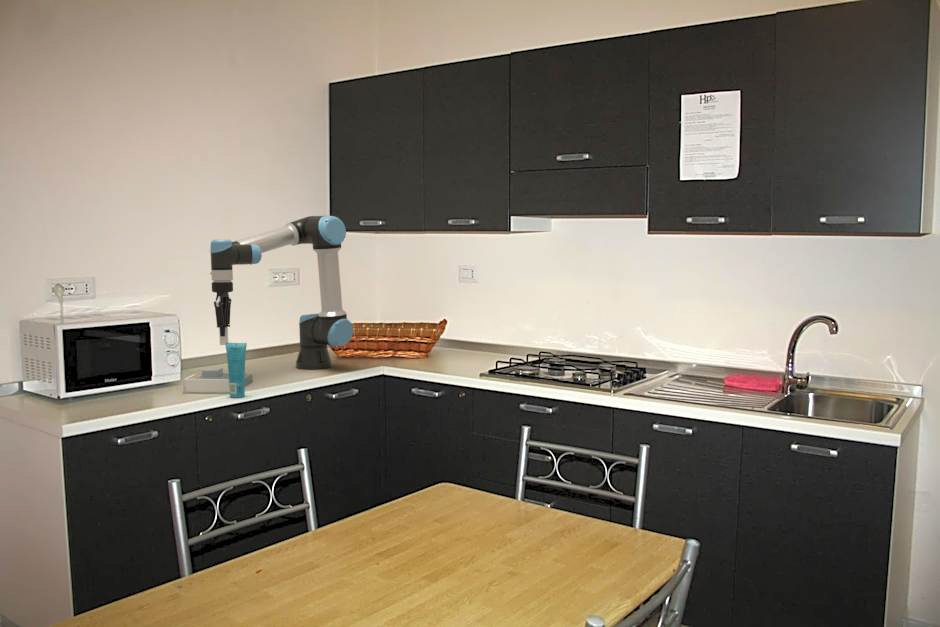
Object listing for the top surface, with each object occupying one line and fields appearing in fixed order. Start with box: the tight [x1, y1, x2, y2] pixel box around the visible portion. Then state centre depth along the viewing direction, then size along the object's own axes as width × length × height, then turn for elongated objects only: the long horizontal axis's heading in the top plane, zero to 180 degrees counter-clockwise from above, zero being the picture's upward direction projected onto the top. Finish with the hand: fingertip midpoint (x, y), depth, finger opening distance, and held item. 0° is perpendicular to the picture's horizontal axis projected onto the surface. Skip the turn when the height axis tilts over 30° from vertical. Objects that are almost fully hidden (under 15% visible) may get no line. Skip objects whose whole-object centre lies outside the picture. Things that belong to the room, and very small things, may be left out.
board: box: [196, 373, 253, 387], centre depth 308 cm, size 18×13×3 cm
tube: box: [224, 342, 248, 398], centre depth 285 cm, size 7×5×19 cm, turn 96°
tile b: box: [201, 367, 224, 377], centre depth 310 cm, size 6×6×2 cm
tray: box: [182, 373, 230, 395], centre depth 297 cm, size 18×11×5 cm, turn 89°
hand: (224, 344), depth 302 cm, fingers closed
